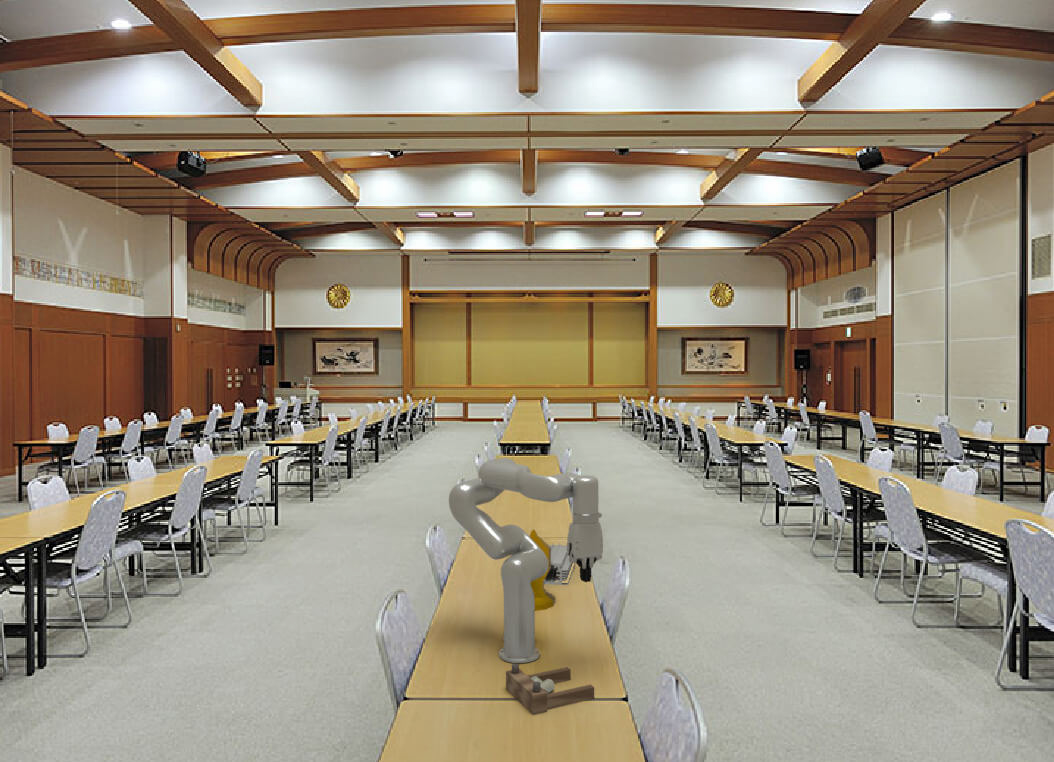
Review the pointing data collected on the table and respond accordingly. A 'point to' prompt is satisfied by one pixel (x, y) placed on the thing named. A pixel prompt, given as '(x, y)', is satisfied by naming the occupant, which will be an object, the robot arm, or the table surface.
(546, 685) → the pipe fitting
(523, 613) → the robot arm
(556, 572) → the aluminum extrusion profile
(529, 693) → the bench jig
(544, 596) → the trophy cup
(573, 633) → the table surface
